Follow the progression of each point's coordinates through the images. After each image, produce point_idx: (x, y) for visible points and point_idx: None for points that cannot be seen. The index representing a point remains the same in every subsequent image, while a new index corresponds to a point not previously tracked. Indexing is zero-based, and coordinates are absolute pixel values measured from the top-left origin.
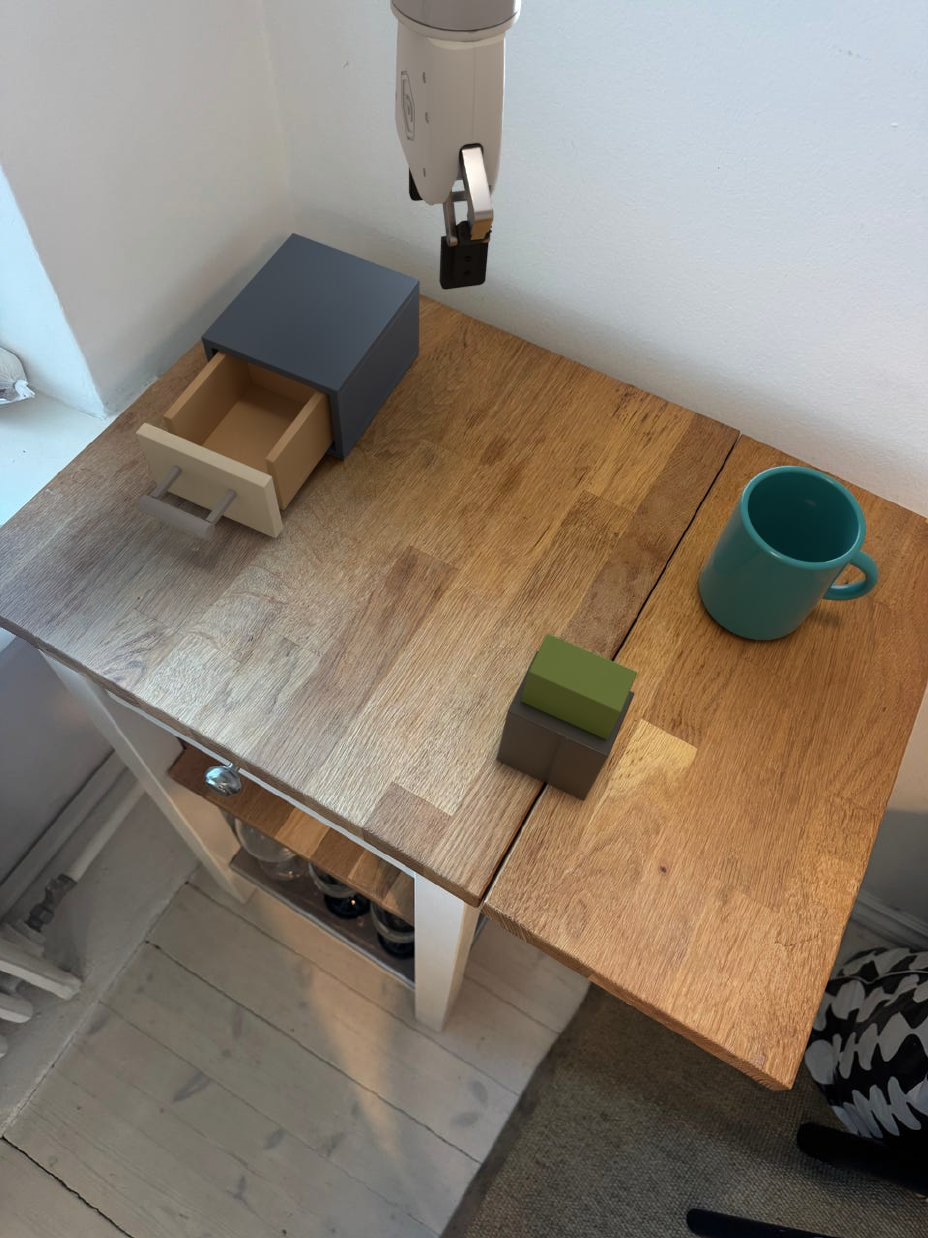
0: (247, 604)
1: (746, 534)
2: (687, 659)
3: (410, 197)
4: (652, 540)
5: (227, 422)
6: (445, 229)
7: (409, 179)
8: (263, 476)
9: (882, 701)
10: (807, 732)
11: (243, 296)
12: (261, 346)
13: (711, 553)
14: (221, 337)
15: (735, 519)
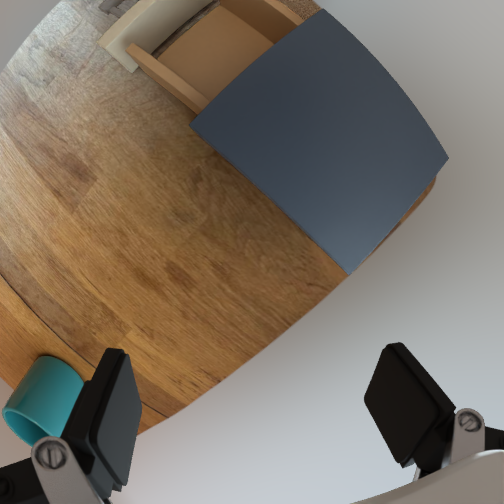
0: (86, 50)
1: (13, 406)
2: (22, 331)
3: (391, 344)
4: (90, 351)
5: (259, 39)
6: (75, 462)
7: (414, 363)
8: (108, 41)
9: None
10: (3, 359)
11: (377, 67)
12: (292, 56)
13: (54, 379)
14: (317, 24)
15: (28, 407)
